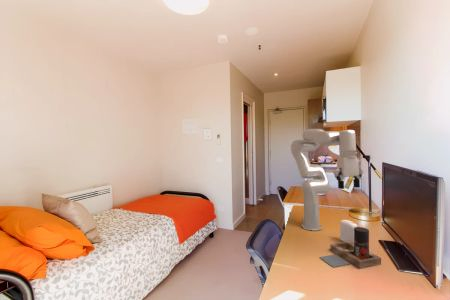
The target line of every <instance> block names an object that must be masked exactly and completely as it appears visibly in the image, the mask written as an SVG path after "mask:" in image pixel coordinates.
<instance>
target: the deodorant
mask: <svg viewBox="0 0 450 300" xmlns="http://www.w3.org/2000/svg"><path fill="white" fill-rule="evenodd" d="M369 252H370V229H368V228H365V227H361V226H358V227H355V228H354V256H356V257H358V258H360V259H361V260H364V259H369Z"/></svg>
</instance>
